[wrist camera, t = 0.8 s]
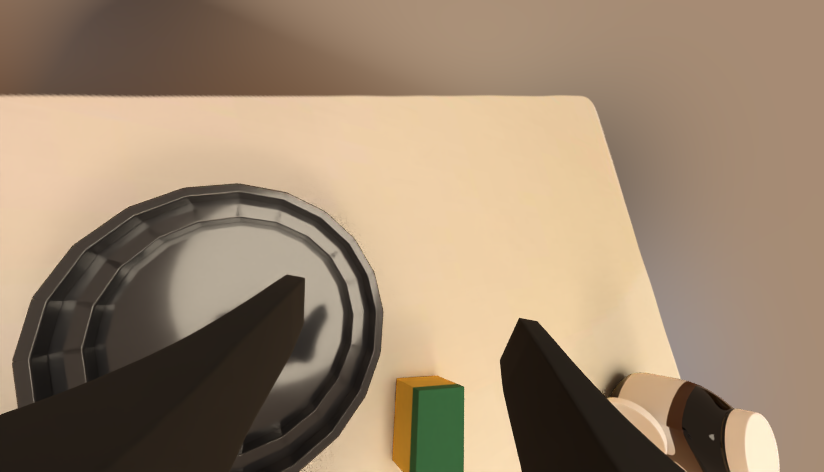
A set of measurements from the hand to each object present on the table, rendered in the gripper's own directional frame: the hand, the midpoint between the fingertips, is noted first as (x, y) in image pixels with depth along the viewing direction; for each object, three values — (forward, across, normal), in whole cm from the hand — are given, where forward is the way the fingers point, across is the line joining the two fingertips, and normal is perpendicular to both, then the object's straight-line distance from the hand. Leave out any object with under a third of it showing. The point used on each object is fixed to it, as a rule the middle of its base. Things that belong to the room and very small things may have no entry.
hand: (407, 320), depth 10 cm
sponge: (+8, -3, +18) cm, 20 cm away
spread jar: (+16, -28, +24) cm, 41 cm away
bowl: (+8, +10, +10) cm, 16 cm away
